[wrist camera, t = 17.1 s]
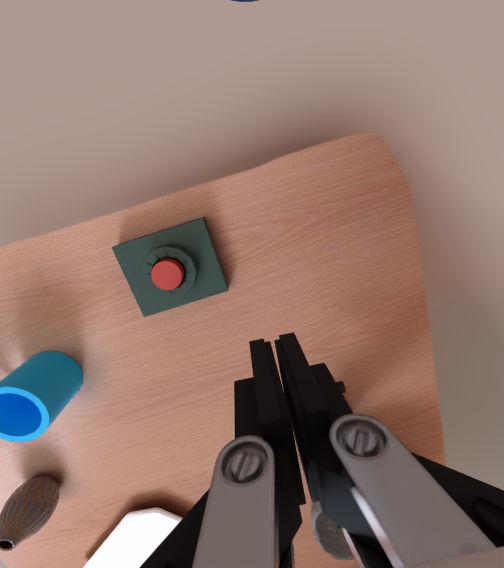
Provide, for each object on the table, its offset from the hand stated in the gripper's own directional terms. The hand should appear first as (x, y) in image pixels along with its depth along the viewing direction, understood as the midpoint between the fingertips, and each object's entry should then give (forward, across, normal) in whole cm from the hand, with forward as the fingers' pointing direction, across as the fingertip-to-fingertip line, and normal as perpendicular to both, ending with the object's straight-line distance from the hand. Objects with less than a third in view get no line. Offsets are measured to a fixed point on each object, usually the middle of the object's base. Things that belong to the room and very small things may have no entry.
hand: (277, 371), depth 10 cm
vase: (+29, +41, +33) cm, 60 cm away
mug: (+29, +34, +13) cm, 46 cm away
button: (+26, +10, +1) cm, 27 cm away
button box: (+29, +10, +1) cm, 31 cm away
